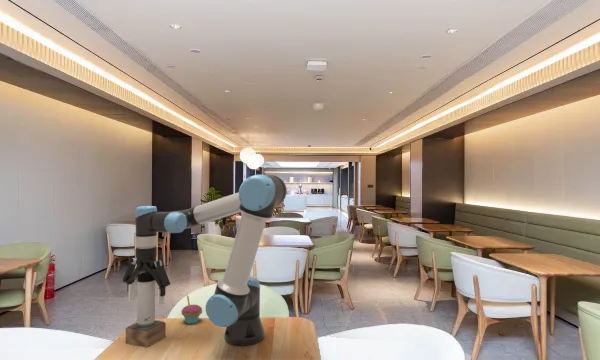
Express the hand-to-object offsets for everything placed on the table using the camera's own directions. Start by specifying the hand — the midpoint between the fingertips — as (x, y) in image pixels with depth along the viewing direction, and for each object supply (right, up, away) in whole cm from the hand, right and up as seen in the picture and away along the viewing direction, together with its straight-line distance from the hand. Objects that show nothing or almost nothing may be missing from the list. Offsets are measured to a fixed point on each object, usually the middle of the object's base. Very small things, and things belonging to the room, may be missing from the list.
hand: (146, 302), depth 147 cm
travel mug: (0, -8, 0) cm, 8 cm away
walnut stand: (0, -14, 0) cm, 14 cm away
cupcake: (+12, -14, +19) cm, 27 cm away
